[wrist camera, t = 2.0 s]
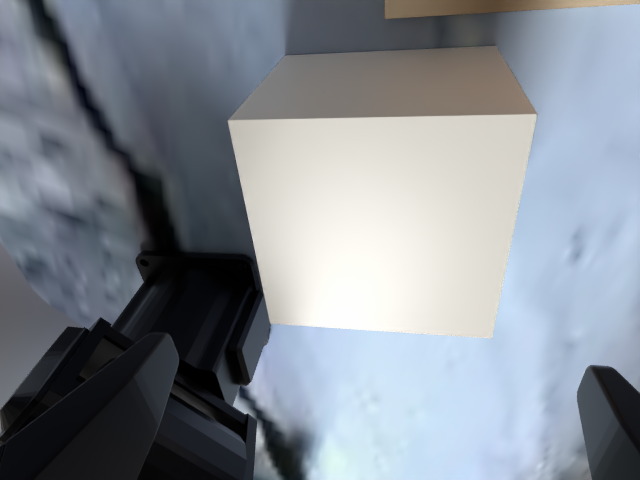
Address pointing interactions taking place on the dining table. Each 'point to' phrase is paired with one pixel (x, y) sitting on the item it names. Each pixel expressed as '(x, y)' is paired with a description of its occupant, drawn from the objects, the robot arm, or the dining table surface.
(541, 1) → the board
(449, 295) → the matte white cube
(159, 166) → the dining table surface
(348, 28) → the dining table surface
